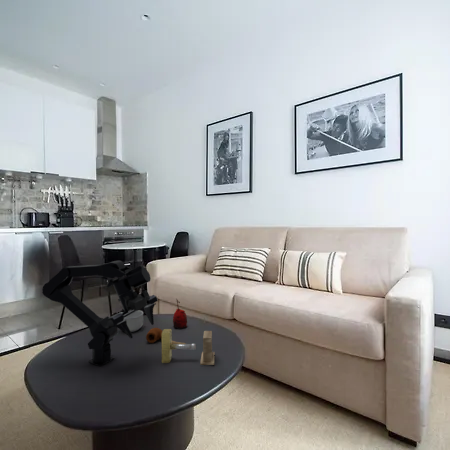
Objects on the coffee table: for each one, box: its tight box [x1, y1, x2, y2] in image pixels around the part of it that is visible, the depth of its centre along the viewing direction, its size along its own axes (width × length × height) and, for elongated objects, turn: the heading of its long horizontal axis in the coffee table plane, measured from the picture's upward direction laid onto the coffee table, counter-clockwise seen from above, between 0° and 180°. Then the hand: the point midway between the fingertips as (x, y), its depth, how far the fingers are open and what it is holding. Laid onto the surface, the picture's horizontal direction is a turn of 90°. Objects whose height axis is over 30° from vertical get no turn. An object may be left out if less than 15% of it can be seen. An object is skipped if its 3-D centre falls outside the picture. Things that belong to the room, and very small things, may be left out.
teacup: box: [119, 309, 144, 333], centre depth 137 cm, size 14×11×8 cm
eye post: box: [199, 330, 216, 366], centre depth 105 cm, size 5×9×10 cm, turn 1°
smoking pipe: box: [145, 327, 187, 344], centre depth 121 cm, size 7×18×6 cm, turn 74°
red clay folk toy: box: [172, 298, 188, 329], centre depth 139 cm, size 8×7×15 cm
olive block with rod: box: [161, 328, 197, 364], centre depth 105 cm, size 13×4×11 cm, turn 91°
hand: (142, 331), depth 103 cm, fingers open, 9 cm apart
